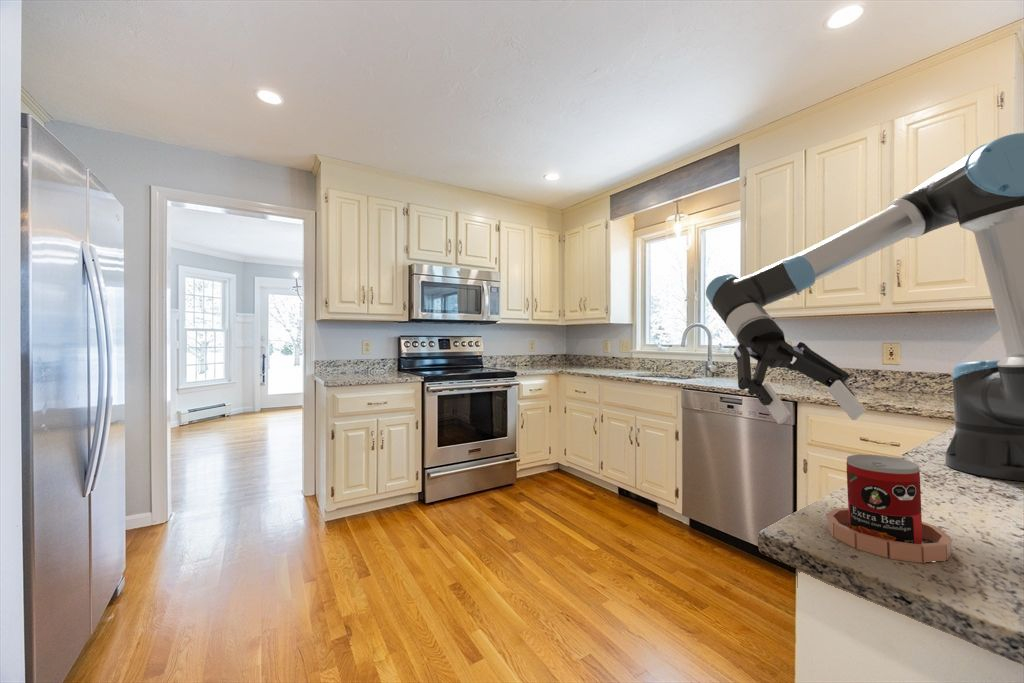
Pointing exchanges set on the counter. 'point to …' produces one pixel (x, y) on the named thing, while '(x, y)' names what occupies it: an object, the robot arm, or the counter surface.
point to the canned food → (884, 498)
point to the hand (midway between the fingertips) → (822, 417)
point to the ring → (891, 549)
